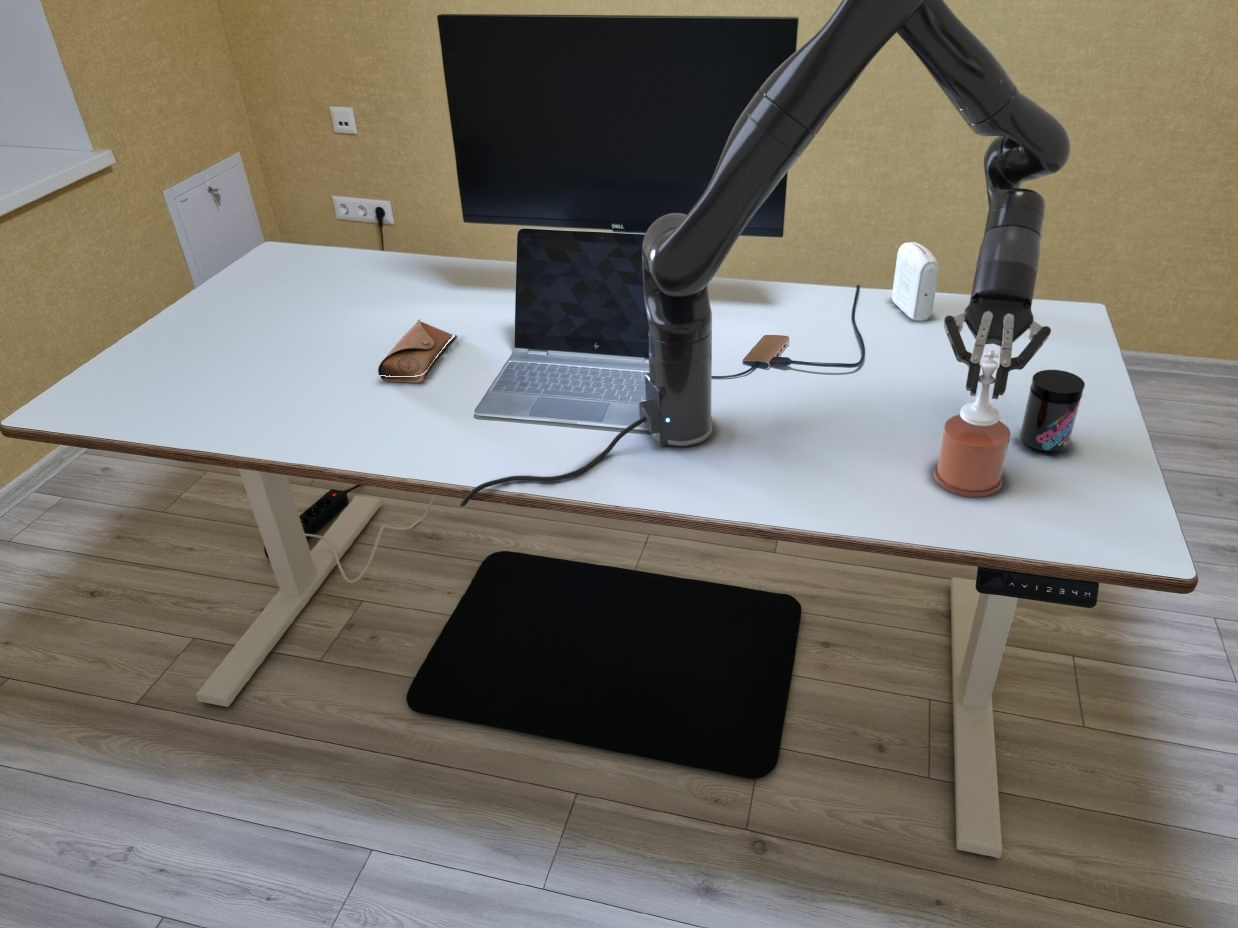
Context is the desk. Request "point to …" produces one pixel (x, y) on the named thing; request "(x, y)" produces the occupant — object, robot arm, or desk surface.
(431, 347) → the sunglasses case
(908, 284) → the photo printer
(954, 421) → the upturned cup
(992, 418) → the chess piece
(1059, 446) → the supplement container
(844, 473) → the desk surface
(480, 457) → the desk surface
